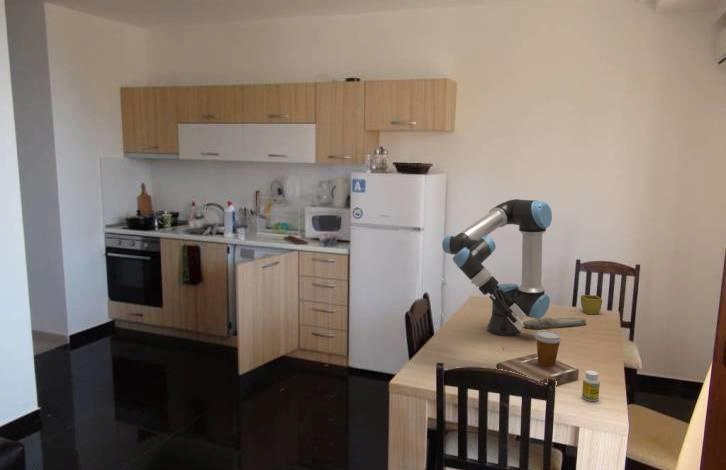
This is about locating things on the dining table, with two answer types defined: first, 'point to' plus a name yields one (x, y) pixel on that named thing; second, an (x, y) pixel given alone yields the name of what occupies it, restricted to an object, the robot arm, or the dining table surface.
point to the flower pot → (591, 304)
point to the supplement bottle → (591, 386)
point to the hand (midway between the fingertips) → (522, 322)
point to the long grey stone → (553, 323)
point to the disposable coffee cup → (547, 347)
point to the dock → (540, 369)
